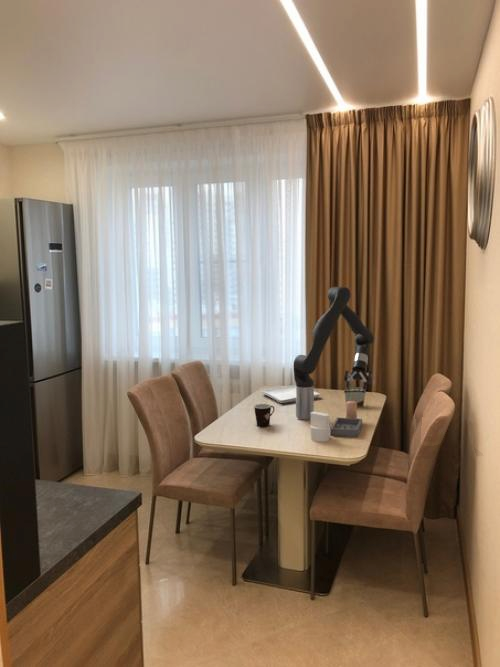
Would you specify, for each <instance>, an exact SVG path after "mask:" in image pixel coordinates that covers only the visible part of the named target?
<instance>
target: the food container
mask: <svg viewBox="0 0 500 667" xmlns="http://www.w3.org/2000/svg"><path fill="white" fill-rule="evenodd" d="M343 394H344V395H345V396H344V397H345V403H346V402H347V401H355V402H357V408H364V406H365V398H366V397H365V396H366V394H367V391H366V389H365V390H363V387H357V386H355V387H354V386H353V387H350V386H349V389H347V387H346V388H345V389H344V391H343Z"/></svg>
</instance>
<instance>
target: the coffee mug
mask: <svg viewBox="0 0 500 667" xmlns="http://www.w3.org/2000/svg"><path fill="white" fill-rule="evenodd" d="M253 408H254V414H255V422H256V426H257V427H258V426H260V427H259V428H267V427H269V426H270V420H271V416H272V415H273V414H274V412H275V406H273V405H271V404H268V403H258V404H255V405H254V406H253ZM271 411H272V412H271Z"/></svg>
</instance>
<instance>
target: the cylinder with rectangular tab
mask: <svg viewBox="0 0 500 667" xmlns="http://www.w3.org/2000/svg"><path fill="white" fill-rule="evenodd" d="M310 415H311V419H310V426H309V427H310V430H309V431H310V440H311V441H312V442H313V441H314V442H320V443H321V442H322V443H323V442H328V441H329V440H330V439H331V437H330V436H331V427H330V414H329V413H324V412H318V411H314V412H311V413H310Z"/></svg>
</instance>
